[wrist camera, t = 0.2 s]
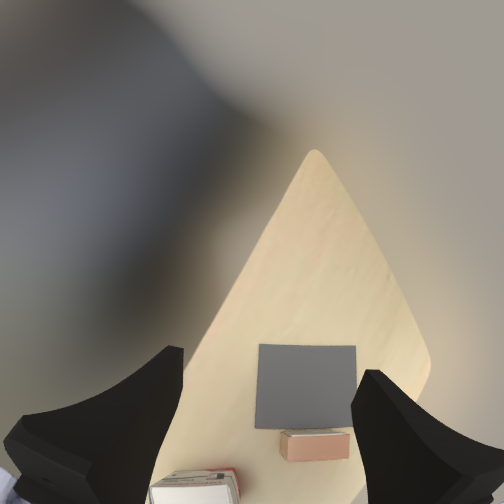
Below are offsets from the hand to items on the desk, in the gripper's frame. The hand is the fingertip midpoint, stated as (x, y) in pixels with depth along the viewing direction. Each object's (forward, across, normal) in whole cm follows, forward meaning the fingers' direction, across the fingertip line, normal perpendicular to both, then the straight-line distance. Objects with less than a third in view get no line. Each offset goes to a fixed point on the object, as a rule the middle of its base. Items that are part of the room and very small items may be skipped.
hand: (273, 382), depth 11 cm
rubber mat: (+23, -8, +20) cm, 32 cm away
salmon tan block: (+17, -9, +25) cm, 32 cm away
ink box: (+12, +3, +31) cm, 34 cm away
